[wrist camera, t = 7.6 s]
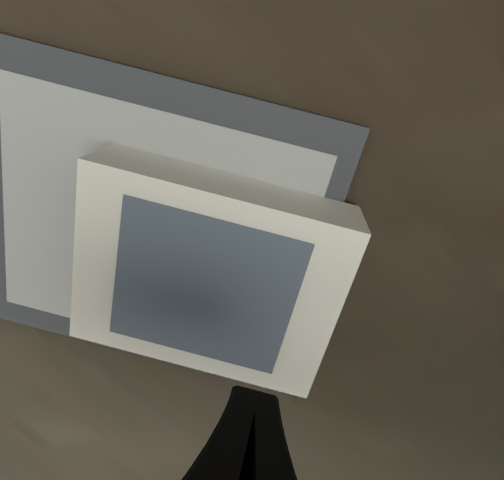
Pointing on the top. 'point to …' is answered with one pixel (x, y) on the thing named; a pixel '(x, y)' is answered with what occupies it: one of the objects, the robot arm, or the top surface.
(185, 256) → the card box
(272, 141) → the mat
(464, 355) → the top surface
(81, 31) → the top surface
